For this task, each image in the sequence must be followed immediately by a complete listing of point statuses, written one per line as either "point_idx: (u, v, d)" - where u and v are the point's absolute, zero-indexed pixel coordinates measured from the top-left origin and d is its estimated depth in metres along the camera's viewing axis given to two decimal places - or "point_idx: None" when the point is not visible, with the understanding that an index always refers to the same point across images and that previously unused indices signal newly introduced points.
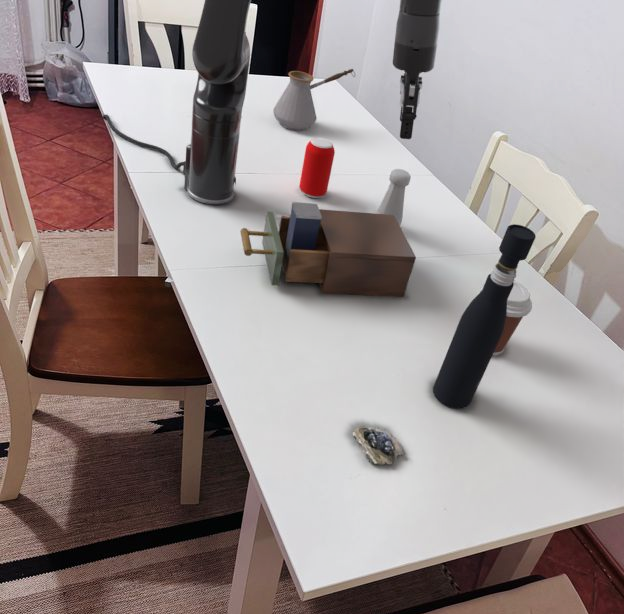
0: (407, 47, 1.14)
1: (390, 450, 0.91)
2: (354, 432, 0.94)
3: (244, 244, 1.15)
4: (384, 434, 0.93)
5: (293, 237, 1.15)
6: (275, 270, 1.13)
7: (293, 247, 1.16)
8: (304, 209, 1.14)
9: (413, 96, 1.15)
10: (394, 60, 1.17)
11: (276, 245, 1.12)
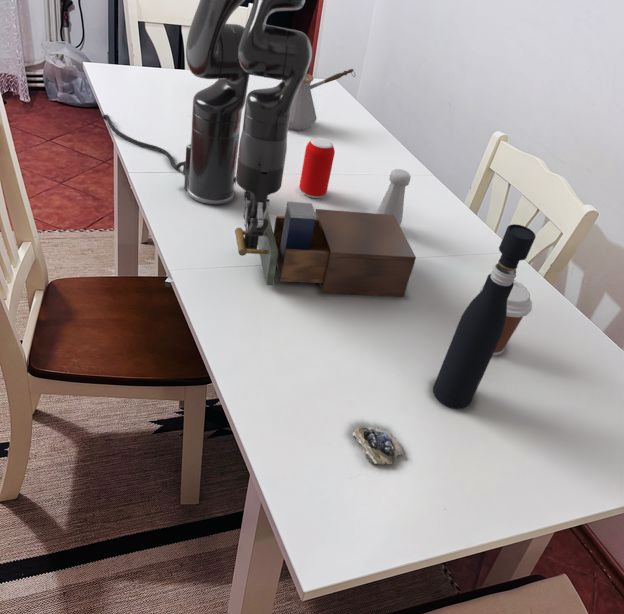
0: (254, 170, 1.04)
1: (390, 450, 0.91)
2: (354, 432, 0.94)
3: (238, 244, 1.14)
4: (384, 434, 0.93)
5: (288, 237, 1.15)
6: (269, 270, 1.13)
7: (288, 247, 1.16)
8: (299, 209, 1.14)
9: (261, 228, 1.09)
10: (238, 179, 1.07)
11: (270, 245, 1.12)
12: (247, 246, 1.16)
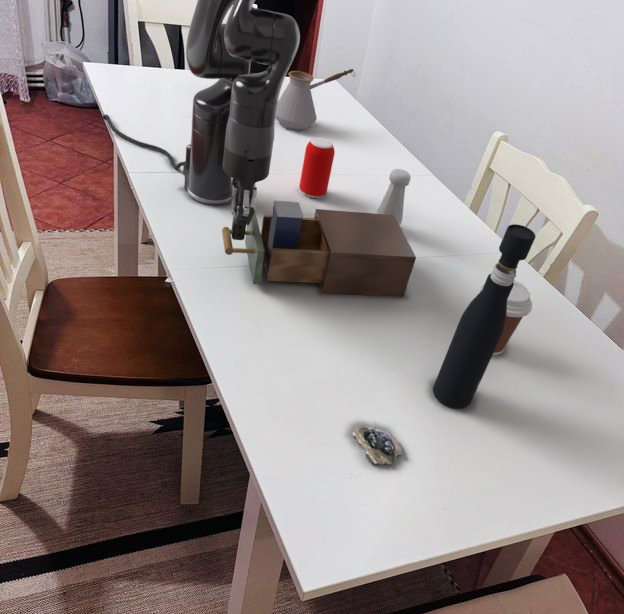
0: (240, 157, 1.02)
1: (390, 450, 0.91)
2: (354, 432, 0.94)
3: (225, 243, 1.14)
4: (384, 434, 0.93)
5: (274, 236, 1.14)
6: (256, 269, 1.12)
7: (275, 246, 1.15)
8: (286, 208, 1.13)
9: (247, 216, 1.07)
10: (224, 166, 1.05)
11: (257, 244, 1.11)
12: (234, 235, 1.14)
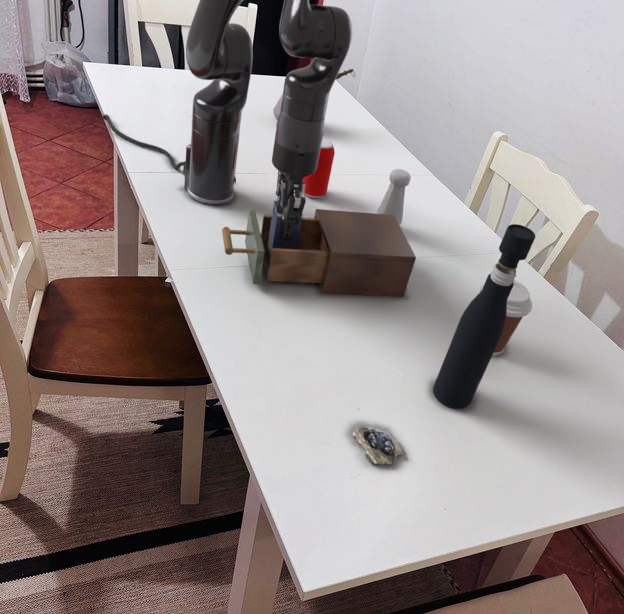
0: (291, 151, 1.03)
1: (390, 450, 0.91)
2: (354, 432, 0.94)
3: (225, 243, 1.14)
4: (384, 434, 0.93)
5: (274, 236, 1.14)
6: (256, 269, 1.12)
7: (275, 246, 1.15)
8: None
9: (298, 208, 1.07)
10: (274, 161, 1.06)
11: (257, 244, 1.11)
12: (282, 235, 1.13)
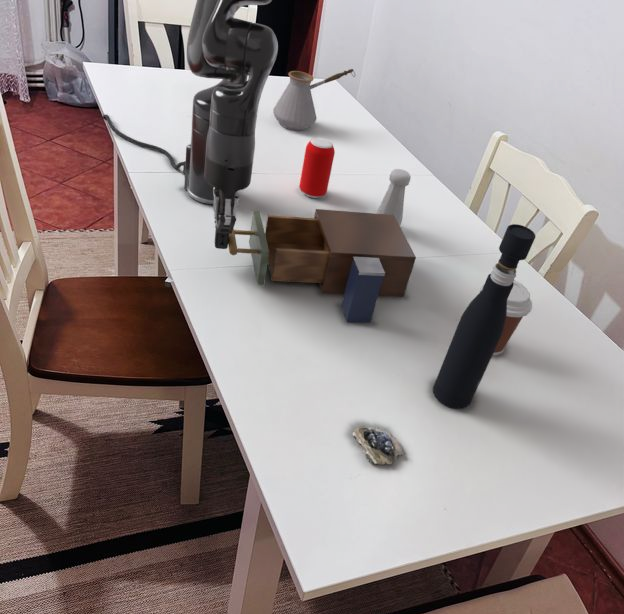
0: (221, 166, 1.02)
1: (390, 450, 0.91)
2: (354, 432, 0.94)
3: (229, 243, 1.14)
4: (384, 434, 0.93)
5: (348, 279, 1.13)
6: (260, 269, 1.13)
7: (346, 289, 1.14)
8: (366, 263, 1.09)
9: (229, 225, 1.07)
10: (206, 175, 1.05)
11: (261, 244, 1.12)
12: (217, 243, 1.14)
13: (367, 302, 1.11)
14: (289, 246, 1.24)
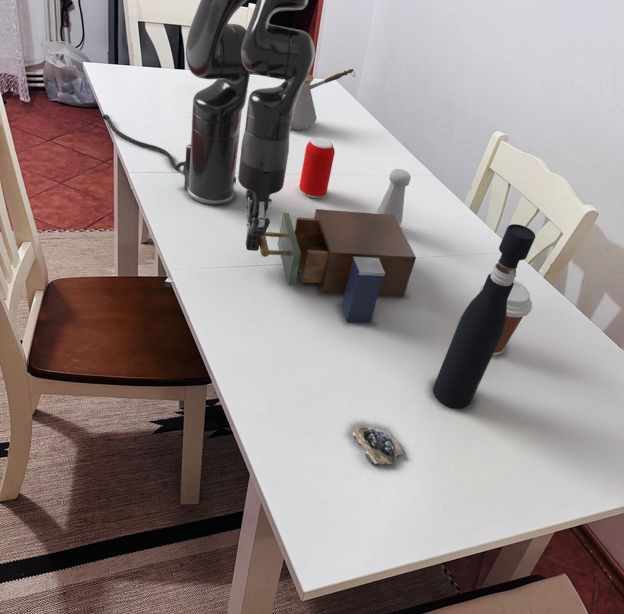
0: (256, 169, 1.04)
1: (390, 450, 0.91)
2: (354, 432, 0.94)
3: (260, 245, 1.15)
4: (384, 434, 0.93)
5: (348, 279, 1.13)
6: (292, 271, 1.14)
7: (346, 289, 1.14)
8: (366, 263, 1.09)
9: (262, 227, 1.09)
10: (240, 179, 1.07)
11: (293, 246, 1.13)
12: (249, 245, 1.16)
13: (367, 302, 1.11)
14: (317, 247, 1.26)
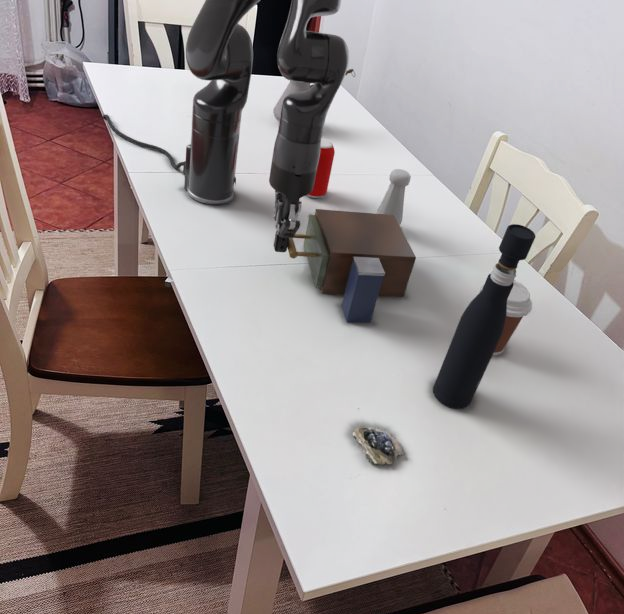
0: (288, 172, 1.05)
1: (390, 450, 0.91)
2: (354, 432, 0.94)
3: (289, 247, 1.17)
4: (384, 434, 0.93)
5: (348, 279, 1.13)
6: (320, 272, 1.16)
7: (346, 289, 1.14)
8: (366, 263, 1.09)
9: (292, 229, 1.10)
10: (271, 181, 1.08)
11: (321, 248, 1.15)
12: (277, 247, 1.17)
13: (367, 302, 1.11)
14: None
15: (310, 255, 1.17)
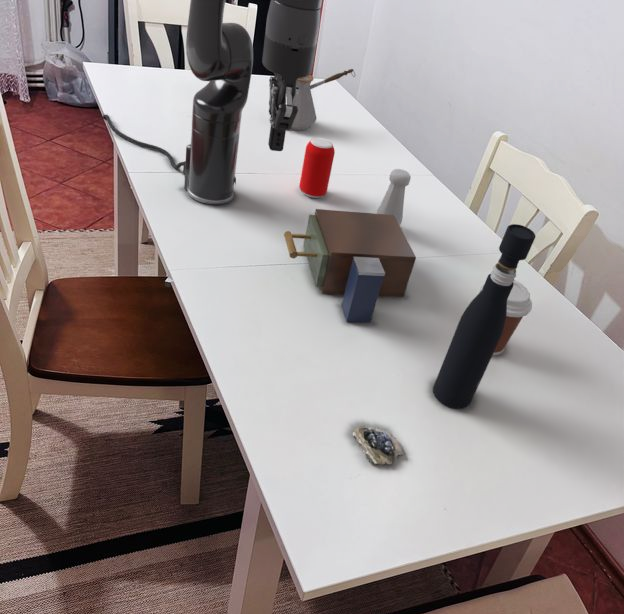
0: (284, 46, 0.92)
1: (390, 450, 0.91)
2: (354, 432, 0.94)
3: (289, 247, 1.17)
4: (384, 434, 0.93)
5: (348, 279, 1.13)
6: (320, 272, 1.16)
7: (346, 289, 1.14)
8: (366, 263, 1.09)
9: (289, 117, 0.98)
10: (265, 60, 0.95)
11: (321, 248, 1.15)
12: (272, 144, 1.04)
13: (367, 302, 1.11)
14: None
15: (310, 255, 1.17)
